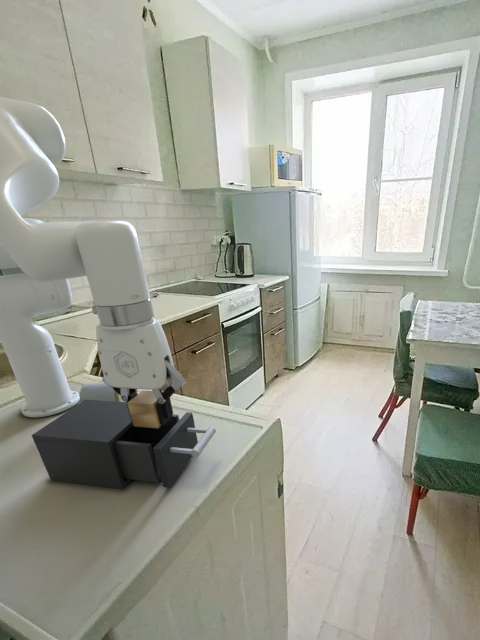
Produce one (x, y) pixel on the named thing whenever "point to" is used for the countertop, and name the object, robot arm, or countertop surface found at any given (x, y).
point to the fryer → (85, 444)
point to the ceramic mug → (99, 392)
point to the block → (144, 410)
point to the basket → (160, 449)
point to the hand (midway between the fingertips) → (152, 418)
